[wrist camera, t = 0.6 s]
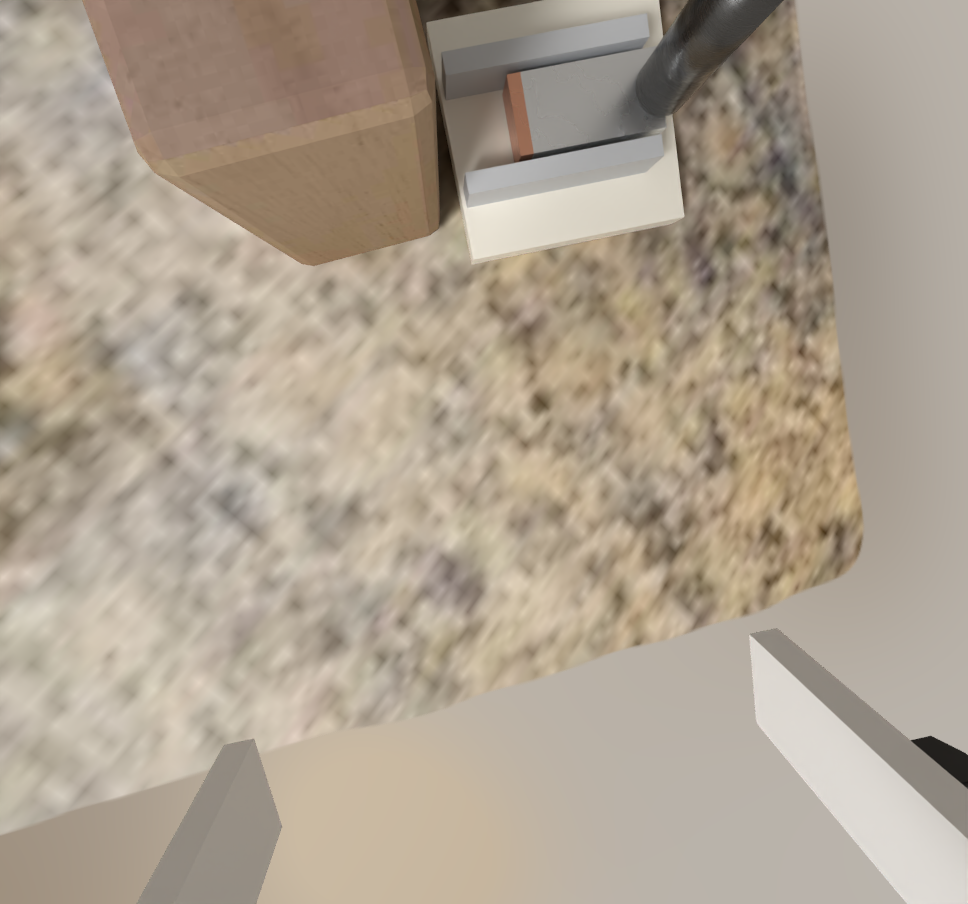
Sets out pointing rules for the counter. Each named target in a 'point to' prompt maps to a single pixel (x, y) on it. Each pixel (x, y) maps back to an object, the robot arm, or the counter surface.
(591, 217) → the base
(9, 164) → the counter surface
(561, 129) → the ram handle
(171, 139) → the wooden block
